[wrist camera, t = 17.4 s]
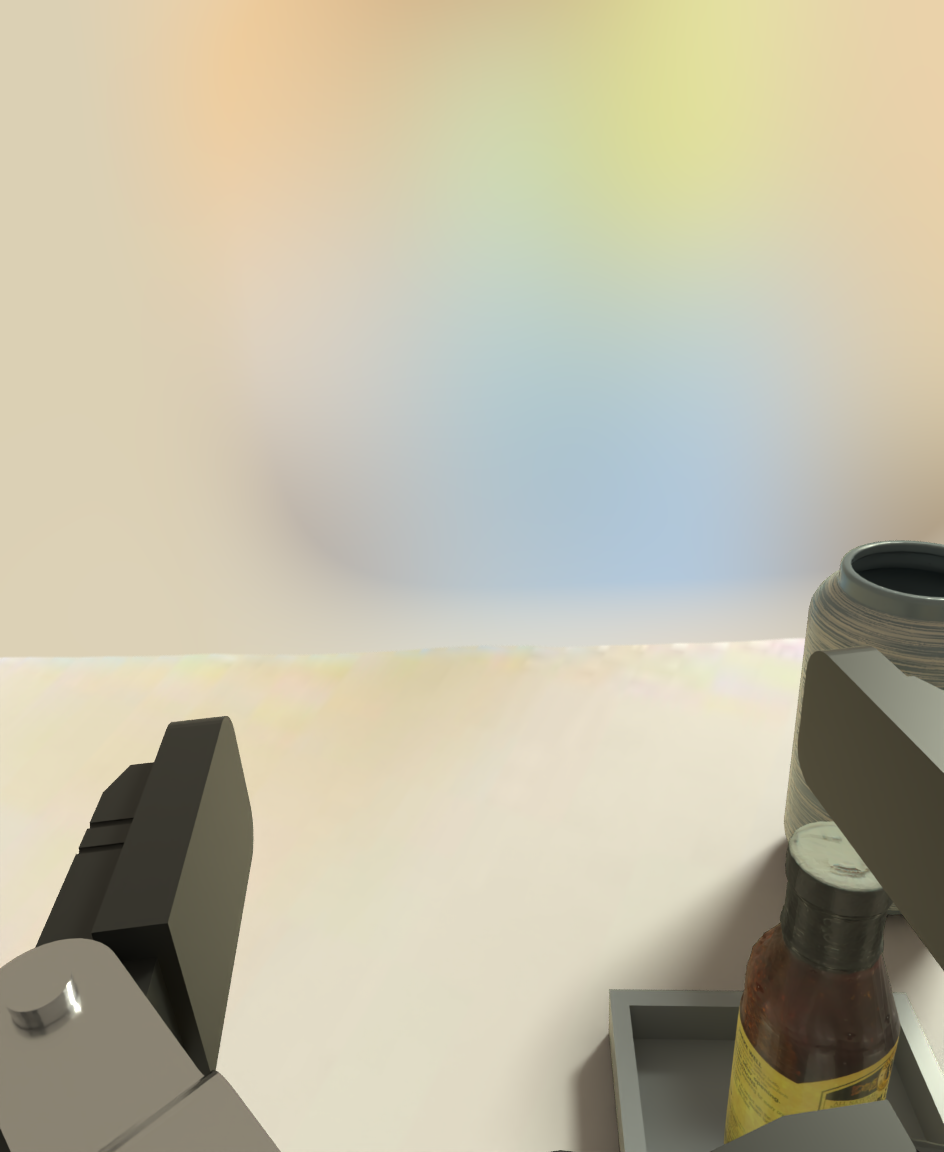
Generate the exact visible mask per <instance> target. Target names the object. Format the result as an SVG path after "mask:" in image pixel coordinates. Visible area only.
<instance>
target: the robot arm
mask: <svg viewBox="0 0 944 1152" xmlns="http://www.w3.org/2000/svg"><path fill="white" fill-rule="evenodd" d="M798 758H799V764H800V768H801V771H802V774H803V777H804V779H805V781H806V783H807V785H808V787H809V788H810V790H811V791H812V793H813V794H814V795H815V797H816V798H817V799H818V801H819V802H820V803H821V805H822V806H823V808H824V809H825V810H826V812H827V813H828V814H829V816H830V817H831V818H832V820H833V821H834V822H835V824H836V825H837V827H838V828H839V829H840V831H841V832H842V833H843V835H844V836H845V837H846V839H847V840H848V841H849V843H850V844H851V846H852V847H853V848H854V850H855V851H856V852H857V854H858V855H859V856H860V858H861V859H862V860H863V862H864V863H865V865H866V866H867V867H868V869H869V870H870V871H871V873H872V874H873V875H874V877H875V878H876V879H877V881H878V882H879V884H880V885H881V886H882V888H883V889H884V890H885V892H886V893H887V894H888V896H889V897H890V898H891V900H892V901H893V903H894V904H895V905H896V907H897V908H898V909H899V911H900V912H901V913H902V915H903V916H904V917H905V919H906V920H907V922H908V923H909V924H910V926H911V927H912V928H913V930H914V931H915V932H916V934H917V935H918V936H919V938H920V939H921V941H922V942H923V943H924V945H925V946H926V947H927V949H928V950H929V951H930V953H931V954H932V955H933V957H934V958H935V960H936V961H937V962H938V964H939V965H940V966H941V968H942V969H943V970H944V691H943V690H941V689H939V688H937V687H935V686H933V685H931V684H929V683H927V682H925V681H923V680H921V679H919V678H917V677H915V676H906V675H905V674H904V673H902V672H901V671H900V670H899V669H898V668H897V667H896V666H895V665H894V664H893V663H891V662H890V661H889V660H888V659H887V658H886V657H885V656H884V655H883V654H881V653H880V652H879V651H878V650H877V649H876V648H874V647H872V646H868V645H865V646H856V647H847V648H839V649H830V650H821V651H815V652H814V653H813V654H812V655H811V656H810V658H809V660H808V664H807V669H806V677H805V685H804V694H803V702H802V710H801V719H800V727H799V735H798ZM252 854H253V821H252V812H251V806H250V802H249V797H248V792H247V788H246V783H245V778H244V774H243V769H242V764H241V760H240V755H239V750H238V746H237V741H236V736H235V732H234V728H233V724H232V722H231V720H230V718H229V717H228V716H223V717H214V718H205V719H196V720H187V721H178V722H171V723H170V724H169V725H168V727H167V729H166V732H165V734H164V737H163V740H162V743H161V745H160V748H159V751H158V753H157V756H156V759H155V761H154V762H153V763H144V764H135V765H130V766H129V767H128V768H127V769H126V770H125V771H124V772H123V773H122V774H121V775H120V776H119V777H118V778H117V779H116V780H115V781H114V782H113V783H112V784H111V785H110V786H109V787H108V788H107V789H106V790H105V791H104V792H103V794H102V796H101V798H100V801H99V803H98V805H97V807H96V810H95V812H94V814H93V817H92V819H91V821H90V829H87V830H86V833H85V835H84V837H83V840H82V842H81V844H80V846H79V854H76V856H75V858H74V860H73V862H72V865H71V867H70V869H69V872H68V874H67V876H66V878H65V881H64V883H63V885H62V888H61V890H60V892H59V895H58V897H57V899H56V901H55V904H54V906H53V908H52V911H51V913H50V915H49V917H48V920H47V922H46V924H45V927H44V929H43V931H42V933H41V936H40V938H39V940H38V943H37V945H36V947H35V948H34V949H31V950H29V951H27V952H25V953H23V954H22V955H20V956H18V957H16V958H15V959H13V960H12V961H10V962H8V963H7V964H6V965H4V966H3V967H2V968H0V1152H280V1150H279V1149H278V1148H277V1146H276V1145H275V1144H274V1142H273V1141H272V1139H271V1138H270V1137H269V1135H268V1134H267V1133H266V1131H265V1130H264V1129H263V1127H262V1126H261V1125H260V1123H259V1122H258V1121H257V1119H256V1118H255V1117H254V1115H253V1114H252V1113H251V1111H250V1110H249V1109H248V1107H247V1106H246V1105H245V1103H244V1102H243V1101H242V1099H241V1098H240V1097H239V1095H238V1094H237V1093H236V1091H235V1090H234V1089H233V1087H232V1086H231V1085H230V1084H229V1082H228V1081H227V1080H226V1079H225V1078H224V1077H223V1076H222V1075H221V1074H220V1073H219V1072H217V1071H215V1070H216V1065H217V1059H218V1053H219V1047H220V1041H221V1035H222V1030H223V1024H224V1018H225V1012H226V1006H227V1000H228V995H229V989H230V983H231V977H232V971H233V965H234V960H235V954H236V948H237V942H238V936H239V931H240V925H241V919H242V913H243V907H244V901H245V896H246V890H247V884H248V878H249V872H250V866H251V861H252ZM553 1152H571V1151H562V1150H559V1151H553ZM710 1152H944V1145H942V1144H937V1143H933V1142H929V1141H924V1140H920V1139H912V1138H909V1136H908V1134H907V1132H906V1131H905V1129H904V1127H903V1125H902V1124H901V1122H900V1120H899V1118H898V1117H897V1115H896V1113H895V1111H894V1110H893V1108H892V1106H891V1104H890V1103H889V1101H888V1100H881V1101H875V1102H868V1103H862V1104H855V1105H849V1106H843V1107H836V1108H830V1109H823V1110H817V1111H810V1112H804V1113H798V1114H791V1115H785V1116H782V1117H780V1118H778V1119H776V1120H774V1121H771V1122H769V1123H767V1124H765V1125H763V1126H761V1127H759V1128H757V1129H755V1130H753V1131H751V1132H749V1133H747V1134H745V1135H743V1136H741V1137H739V1138H737V1139H735V1140H733V1141H731V1142H729V1143H726V1144H724V1145H722V1146H720V1147H718V1148H716V1149H714V1150H712V1151H710Z"/></svg>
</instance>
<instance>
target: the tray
mask: <svg viewBox="0 0 944 1152" xmlns="http://www.w3.org/2000/svg"><path fill="white" fill-rule="evenodd" d="M743 992H744V991H701V990H610V989H609V1038H610V1049H611V1060H612V1071H613V1082H614V1093H615V1104H616V1115H617V1126H618V1137H619V1148H620V1152H710V1151H712V1150H714V1149H716V1148H718V1147H720V1146H722V1145H724V1133H725V1123H726V1113H727V1105H728V1096H729V1088H730V1079H731V1072H732V1063H733V1055H734V1046H735V1038H736V1030H737V1022H738V1014H739V1006H740V1000H741V997H742V994H743ZM893 997H894V1001H895V1004H896V1008H897V1012H898V1016H899V1021H900V1034H899V1039H898V1043H897V1048H896V1053H895V1057H894V1061H893V1065H892V1070H891V1074H890V1079H889V1083H888V1089H887V1093H886V1098H885V1100H888V1101H889V1103H890V1104H891V1106H892V1108H893V1110H894V1111H895V1113H896V1115H897V1117H898V1118H899V1120H900V1122H901V1124H902V1125H903V1127H904V1129H905V1131H906V1132H907V1134H908V1136H909V1138H912V1139H920V1140H924V1141H929V1142H933V1143H937V1144H942V1145H944V1075H943V1073H942V1071H941V1069H940V1067H939V1064H938V1062H937V1060H936V1058H935V1056H934V1053H933V1051H932V1049H931V1047H930V1045H929V1043H928V1040H927V1038H926V1036H925V1034H924V1032H923V1029H922V1027H921V1025H920V1023H919V1021H918V1019H917V1016H916V1014H915V1012H914V1010H913V1008H912V1006H911V1003H910V1001H909V999H908V997H907V995H906V993H893Z"/></svg>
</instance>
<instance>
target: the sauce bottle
mask: <svg viewBox="0 0 944 1152" xmlns="http://www.w3.org/2000/svg"><path fill="white" fill-rule="evenodd" d="M785 866H786V875H787V879H788V884H787V891H786V899H785V905H784V906H783V910H782V912H781V916H780V921H781V923H779V924H778V925H776V926H775V927H774V928H771V929H770V930H769V931H767V932H765V933H764V934H763V936H762V937H761V938H760V939H759V940H758V941H757V943H756V944H755V945H754V946H753V948H752V953H751V955H750V959H749V961H748V965H747V971H746V977H745V990H744V992H743V994H742V997H741V1000H740V1006H739V1014H738V1022H737V1030H736V1038H735V1046H734V1055H733V1063H732V1072H731V1079H730V1088H729V1096H728V1105H727V1113H726V1123H725V1133H724V1144H726V1143H729V1142H731V1141H733V1140H735V1139H737V1138H739V1137H741V1136H743V1135H745V1134H747V1133H749V1132H751V1131H753V1130H755V1129H757V1128H759V1127H761V1126H763V1125H765V1124H767V1123H769V1122H771V1121H774V1120H776V1119H778V1118H780V1117H782V1116H785V1115H791V1114H798V1113H804V1112H810V1111H817V1110H823V1109H830V1108H836V1107H843V1106H849V1105H855V1104H862V1103H868V1102H875V1101H881V1100H885V1098H886V1093H887V1089H888V1083H889V1079H890V1074H891V1070H892V1065H893V1061H894V1057H895V1053H896V1048H897V1043H898V1039H899V1034H900V1021H899V1016H898V1012H897V1008H896V1004H895V1001H894V997H893V993H892V989H891V985H890V981H889V978H888V974H887V970H886V966H885V963H884V959H883V955H882V952H883V945H884V942H883V931H884V925H885V920H886V917H887V912H888V909H889V907H890V906H891V905H892V904H893V901H892V900H891V898H890V897H889V896H888V894H887V893H886V892H885V890H884V889H883V888H882V886H881V885H880V884H879V882H878V881H877V879H876V878H875V877H874V875H873V874H872V873H871V871H870V870H869V869H868V867H867V866H866V865H865V863H864V862H863V860H862V859H861V858H860V856H859V855H858V854H857V852H856V851H855V850H854V848H853V847H852V846H851V844H850V843H849V841H848V840H847V839H846V837H845V836H844V835H843V833H842V832H841V831H840V829H839V828H838V827H837V825H836V824H835V822H834V821H832V822H822V821H819V822H815V823H809V824H807V825H804V826H802V827H800V828H799V829H797V830H796V831H795V832H794V833H793V835H792V837H791V839H790V840H789V843H788V848H787V854H786V864H785Z"/></svg>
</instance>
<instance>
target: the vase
mask: <svg viewBox="0 0 944 1152" xmlns="http://www.w3.org/2000/svg"><path fill="white" fill-rule="evenodd" d="M865 645H868V646H872V647H874V648H876V649H877V650H878V651H879V652H880V653H881V654H883V655H884V656H885V657H886V658H887V659H888V660H889V661H890V662H891V663H893V664H894V665H895V666H896V667H897V668H898V669H899V670H900V671H901V672H902V673H904V674H905V675H906V676H915V677H917V678H919V679H921V680H923V681H925V682H927V683H929V684H931V685H933V686H935V687H937V688H939V689H941V690H943V691H944V545H942V544H936V543H928V542H921V541H920V542H919V541H904V540H901V541H882V542H874V543H869V544H865V545H862V546H859V547H856V548H855V549H852V550H850V551H849V552H848V553H846V554H845V556H844V557H843V559H842V560H841V564H840V570H838V571H837V572H835V573H833V574H832V575H831V576H829V577H828V578H827V579H826V580H825V581H823V582H822V584H821V585H820V586H819V588H818V589H817V590H816V592H815V593H814V595H813V597H812V599H811V602H810V606H809V612H808V621H807V630H806V638H805V646H804V655H803V663H802V672H801V680H800V689H799V697H798V706H797V714H796V723H795V731H794V740H793V748H792V757H791V765H790V774H789V782H788V791H787V799H786V808H785V816H784V826H785V835H786V838H787V840H788V843H789V840H790V839H791V837H792V835H793V833H794V832H795V831H796V830H797V829H799V828H800V827H802V826H804V825H807V824H809V823H815V822H819V821H822V822H832V821H833V820H832V818H831V817H830V816H829V814H828V813H827V812H826V810H825V809H824V808H823V806H822V805H821V803H820V802H819V801H818V799H817V798H816V797H815V795H814V794H813V793H812V791H811V790H810V788H809V787H808V785H807V783H806V781H805V779H804V777H803V774H802V771H801V768H800V764H799V758H798V735H799V727H800V719H801V710H802V702H803V694H804V685H805V677H806V669H807V664H808V660H809V658H810V656H811V655H812V654H813V653H814V652H815V651H821V650H830V649H839V648H847V647H856V646H865ZM899 914H902V913H901V912H900V911H899V909H898V908H897V907H896V905H895V904H894V903H893V904H892V905H891V906H890V907H889V909H888V912H887V915H899Z"/></svg>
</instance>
